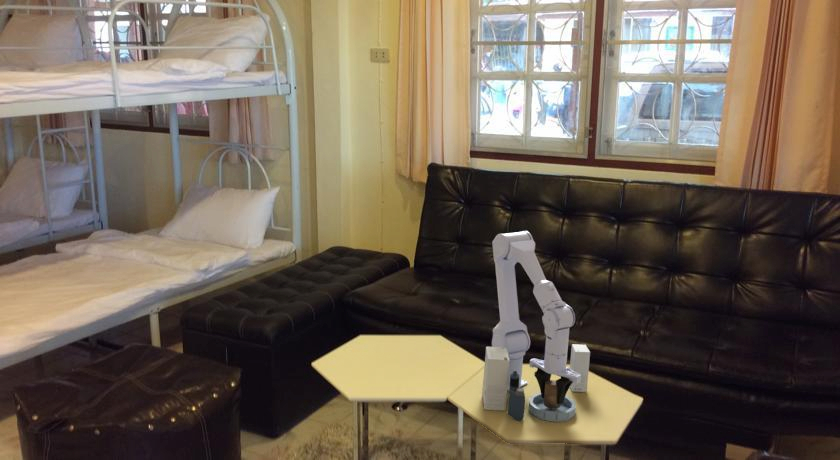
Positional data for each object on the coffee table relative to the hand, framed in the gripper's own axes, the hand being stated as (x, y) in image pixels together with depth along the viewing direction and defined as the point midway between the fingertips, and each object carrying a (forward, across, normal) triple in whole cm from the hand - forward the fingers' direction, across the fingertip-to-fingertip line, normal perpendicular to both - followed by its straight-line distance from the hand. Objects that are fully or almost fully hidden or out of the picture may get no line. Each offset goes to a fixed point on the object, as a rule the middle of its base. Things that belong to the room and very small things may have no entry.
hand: (552, 399), depth 187 cm
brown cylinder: (+1, 0, 0) cm, 1 cm away
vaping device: (+3, +5, +10) cm, 11 cm away
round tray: (+3, 0, 0) cm, 3 cm away
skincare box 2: (+3, +3, -18) cm, 18 cm away
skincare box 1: (+3, +13, +8) cm, 16 cm away
